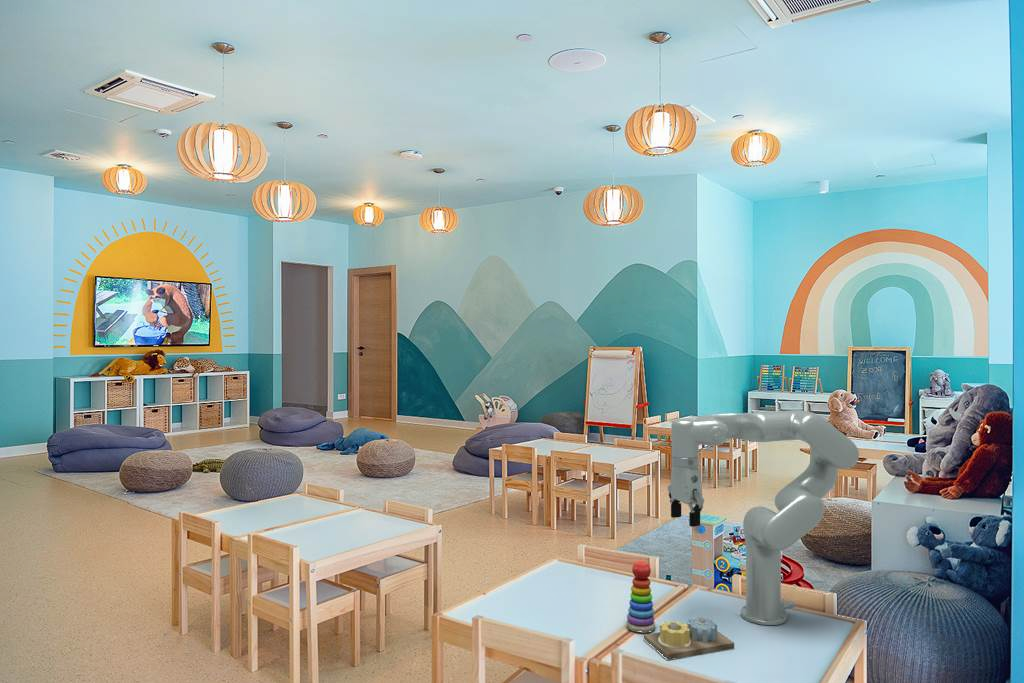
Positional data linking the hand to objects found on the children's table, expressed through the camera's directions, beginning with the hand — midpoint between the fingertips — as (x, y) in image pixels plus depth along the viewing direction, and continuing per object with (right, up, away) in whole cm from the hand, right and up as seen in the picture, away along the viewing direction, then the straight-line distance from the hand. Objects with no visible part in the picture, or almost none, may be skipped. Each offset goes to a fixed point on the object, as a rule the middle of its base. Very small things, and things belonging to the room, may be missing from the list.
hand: (685, 521), depth 200 cm
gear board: (-3, -29, -15) cm, 33 cm away
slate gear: (+1, -27, -14) cm, 30 cm away
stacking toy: (-14, -29, -5) cm, 32 cm away
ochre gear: (-7, -27, -17) cm, 32 cm away
